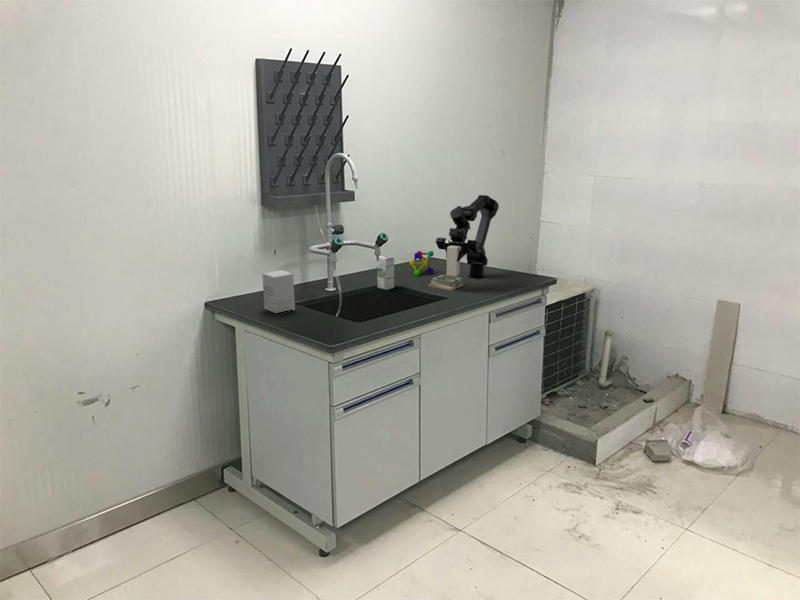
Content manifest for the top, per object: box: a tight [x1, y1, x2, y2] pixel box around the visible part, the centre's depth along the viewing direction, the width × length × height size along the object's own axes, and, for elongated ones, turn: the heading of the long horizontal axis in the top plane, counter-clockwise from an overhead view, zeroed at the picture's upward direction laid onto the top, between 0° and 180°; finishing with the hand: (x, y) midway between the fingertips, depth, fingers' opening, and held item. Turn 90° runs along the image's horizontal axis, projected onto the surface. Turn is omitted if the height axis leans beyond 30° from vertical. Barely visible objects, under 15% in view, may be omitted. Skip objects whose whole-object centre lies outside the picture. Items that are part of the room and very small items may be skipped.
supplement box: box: [261, 269, 296, 314], centre depth 247 cm, size 9×9×15 cm
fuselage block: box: [446, 246, 461, 277], centre depth 278 cm, size 4×4×12 cm
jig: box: [427, 274, 466, 291], centre depth 288 cm, size 12×12×4 cm
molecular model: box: [409, 250, 435, 277], centre depth 310 cm, size 12×7×12 cm, turn 125°
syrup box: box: [376, 254, 395, 291], centre depth 282 cm, size 6×6×14 cm
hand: (452, 260), depth 276 cm, fingers closed on fuselage block, 4 cm apart
